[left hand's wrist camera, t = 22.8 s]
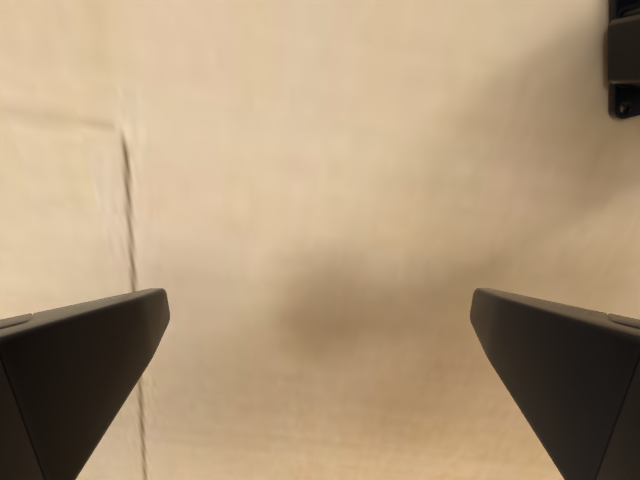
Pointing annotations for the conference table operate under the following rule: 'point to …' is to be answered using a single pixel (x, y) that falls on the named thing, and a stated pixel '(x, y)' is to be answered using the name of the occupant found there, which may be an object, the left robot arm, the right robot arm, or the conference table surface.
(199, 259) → the conference table surface
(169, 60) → the conference table surface
